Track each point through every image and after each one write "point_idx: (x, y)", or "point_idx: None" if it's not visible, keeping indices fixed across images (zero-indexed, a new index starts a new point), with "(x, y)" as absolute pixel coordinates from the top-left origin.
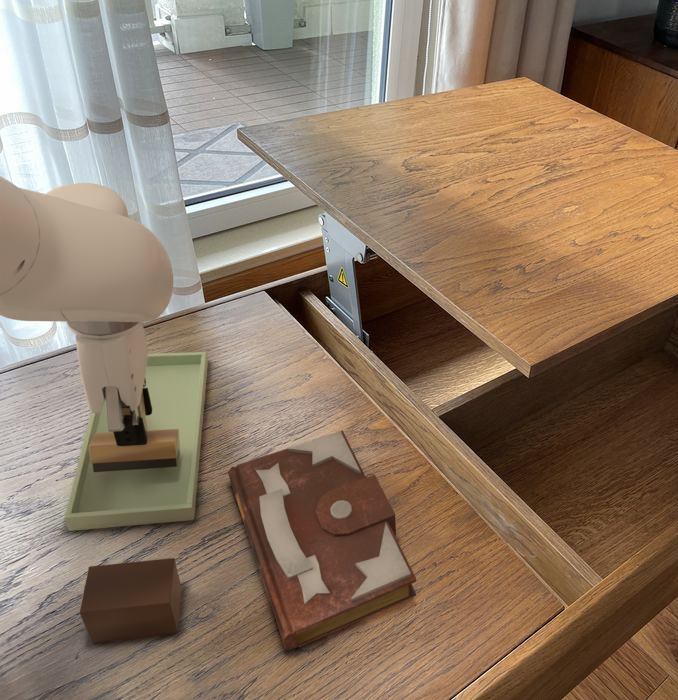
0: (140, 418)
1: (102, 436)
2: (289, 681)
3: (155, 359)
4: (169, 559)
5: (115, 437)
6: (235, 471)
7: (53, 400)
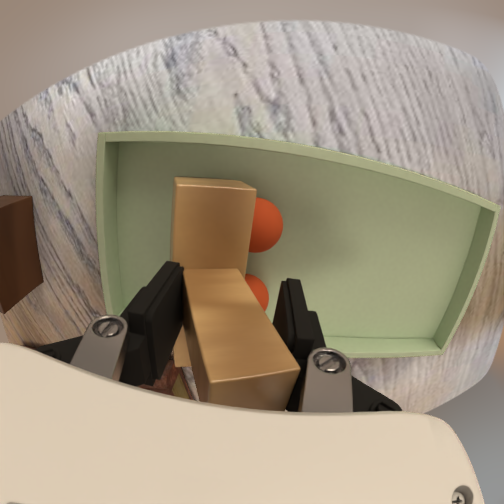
0: (148, 383)
1: (231, 212)
2: (10, 337)
3: (468, 282)
4: (1, 308)
5: (154, 276)
6: (159, 388)
7: (440, 103)
